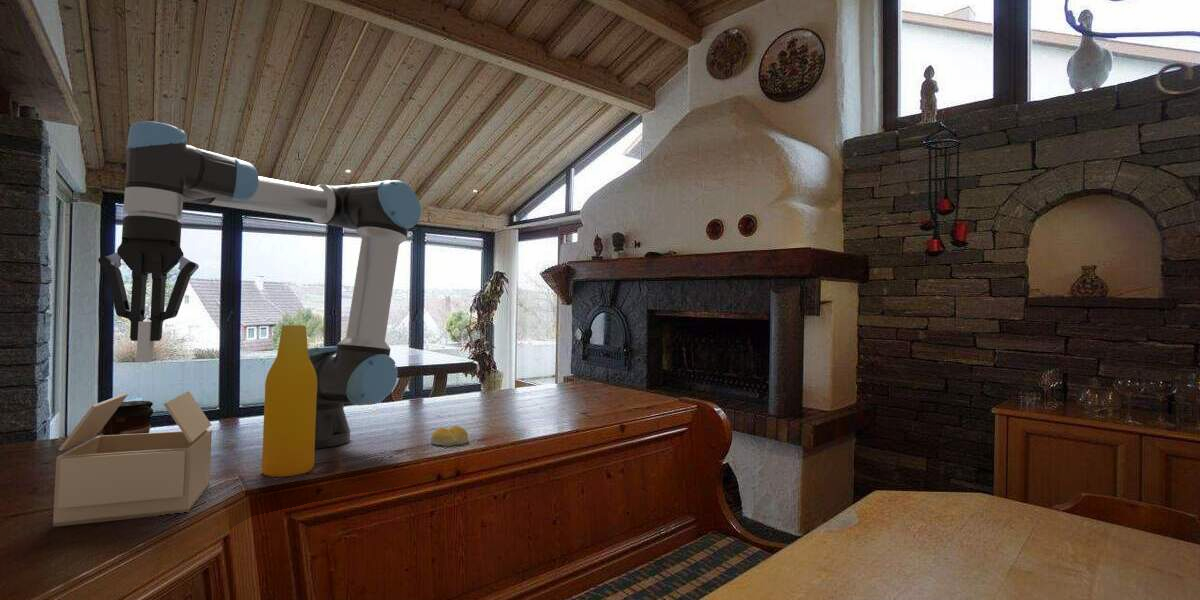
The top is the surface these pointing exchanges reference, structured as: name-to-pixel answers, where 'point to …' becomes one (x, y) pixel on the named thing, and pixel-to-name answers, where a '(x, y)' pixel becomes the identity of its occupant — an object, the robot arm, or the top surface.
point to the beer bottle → (290, 408)
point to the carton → (130, 477)
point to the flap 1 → (94, 420)
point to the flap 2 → (188, 415)
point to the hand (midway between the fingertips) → (144, 361)
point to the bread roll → (450, 436)
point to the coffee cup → (129, 419)
